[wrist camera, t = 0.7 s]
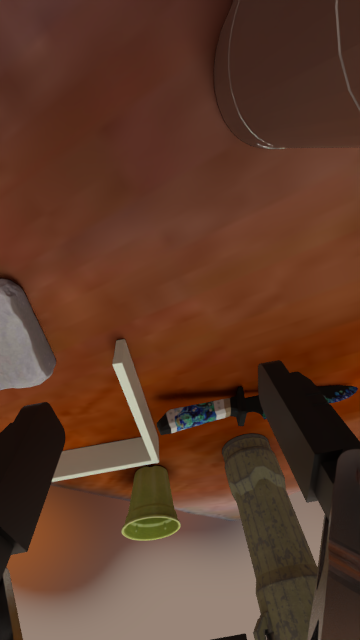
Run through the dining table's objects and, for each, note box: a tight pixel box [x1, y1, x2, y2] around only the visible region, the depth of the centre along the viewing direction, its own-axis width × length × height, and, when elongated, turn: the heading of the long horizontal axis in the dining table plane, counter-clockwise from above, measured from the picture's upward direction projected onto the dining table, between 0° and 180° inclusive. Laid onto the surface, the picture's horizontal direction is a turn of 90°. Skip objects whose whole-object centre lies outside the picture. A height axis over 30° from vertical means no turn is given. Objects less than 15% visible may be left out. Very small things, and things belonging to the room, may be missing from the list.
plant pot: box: [122, 466, 180, 540], centre depth 44 cm, size 9×9×9 cm
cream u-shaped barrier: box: [52, 339, 159, 482], centre depth 34 cm, size 21×27×4 cm
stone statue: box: [222, 434, 318, 640], centre depth 32 cm, size 9×12×35 cm
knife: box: [157, 385, 358, 435], centre depth 36 cm, size 31×3×4 cm, turn 86°
